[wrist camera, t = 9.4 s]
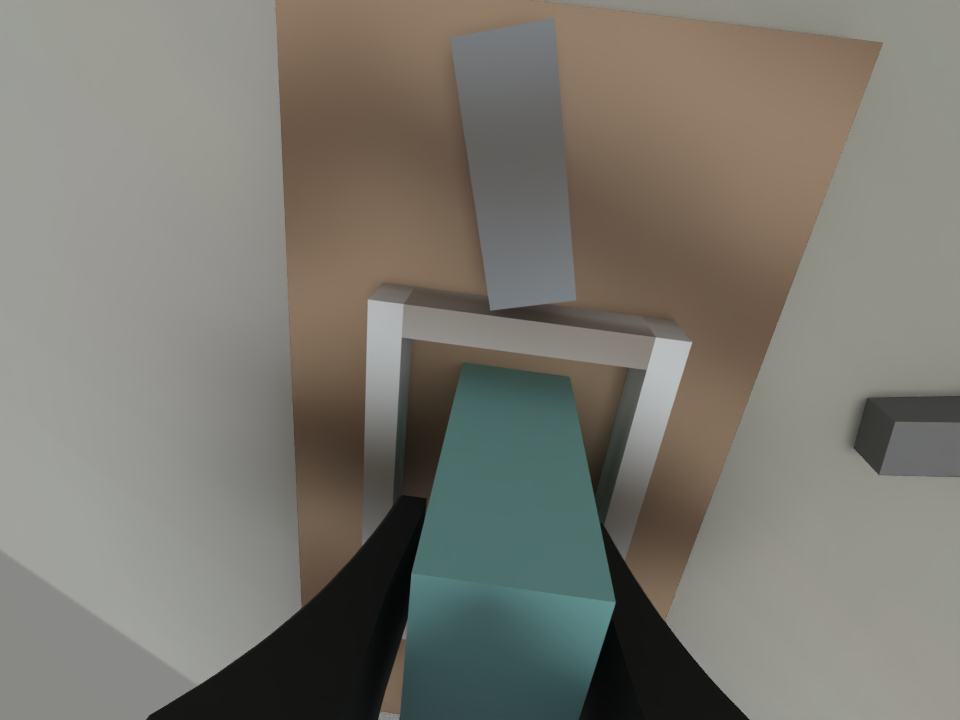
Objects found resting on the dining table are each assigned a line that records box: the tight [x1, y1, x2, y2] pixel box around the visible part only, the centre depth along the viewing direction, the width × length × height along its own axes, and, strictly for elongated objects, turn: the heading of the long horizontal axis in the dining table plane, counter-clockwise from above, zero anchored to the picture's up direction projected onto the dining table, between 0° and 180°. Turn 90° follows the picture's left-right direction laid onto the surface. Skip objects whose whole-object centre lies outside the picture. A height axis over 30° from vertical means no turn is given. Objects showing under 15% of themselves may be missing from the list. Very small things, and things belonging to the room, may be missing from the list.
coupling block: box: [400, 362, 616, 720], centre depth 11 cm, size 3×5×7 cm, turn 174°
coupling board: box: [276, 0, 883, 714], centre depth 14 cm, size 23×12×3 cm, turn 174°
